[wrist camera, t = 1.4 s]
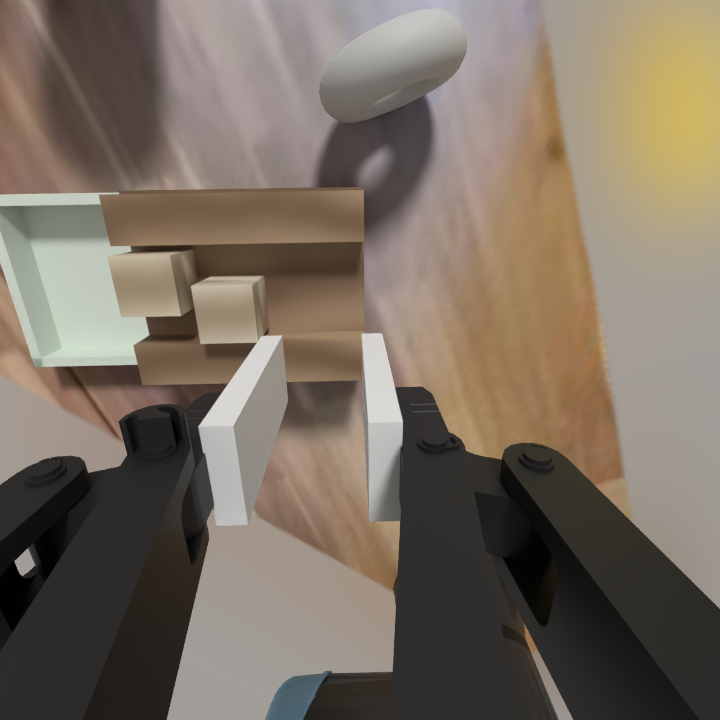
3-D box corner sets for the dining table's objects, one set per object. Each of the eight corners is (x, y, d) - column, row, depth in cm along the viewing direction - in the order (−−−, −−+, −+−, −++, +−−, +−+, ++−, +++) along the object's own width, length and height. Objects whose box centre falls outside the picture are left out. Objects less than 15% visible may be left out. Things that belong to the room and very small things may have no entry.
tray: (181, 351, 39) (166, 364, 35) (60, 354, 38) (34, 366, 35) (151, 193, 34) (131, 192, 30) (12, 196, 33) (-22, 195, 30)
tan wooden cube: (201, 302, 31) (180, 316, 27) (149, 303, 31) (121, 317, 27) (193, 249, 29) (170, 255, 26) (138, 250, 29) (107, 256, 26)
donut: (333, 140, 32) (326, 113, 23) (317, 93, 31) (302, 45, 22) (452, 91, 31) (495, 41, 22) (440, 40, 30) (480, -35, 21)
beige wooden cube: (269, 326, 32) (258, 342, 28) (218, 327, 32) (200, 343, 28) (264, 275, 30) (251, 285, 26) (210, 276, 30) (190, 286, 26)
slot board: (363, 347, 39) (366, 383, 31) (186, 351, 39) (143, 388, 31) (360, 190, 34) (363, 185, 26) (157, 193, 34) (97, 189, 26)
